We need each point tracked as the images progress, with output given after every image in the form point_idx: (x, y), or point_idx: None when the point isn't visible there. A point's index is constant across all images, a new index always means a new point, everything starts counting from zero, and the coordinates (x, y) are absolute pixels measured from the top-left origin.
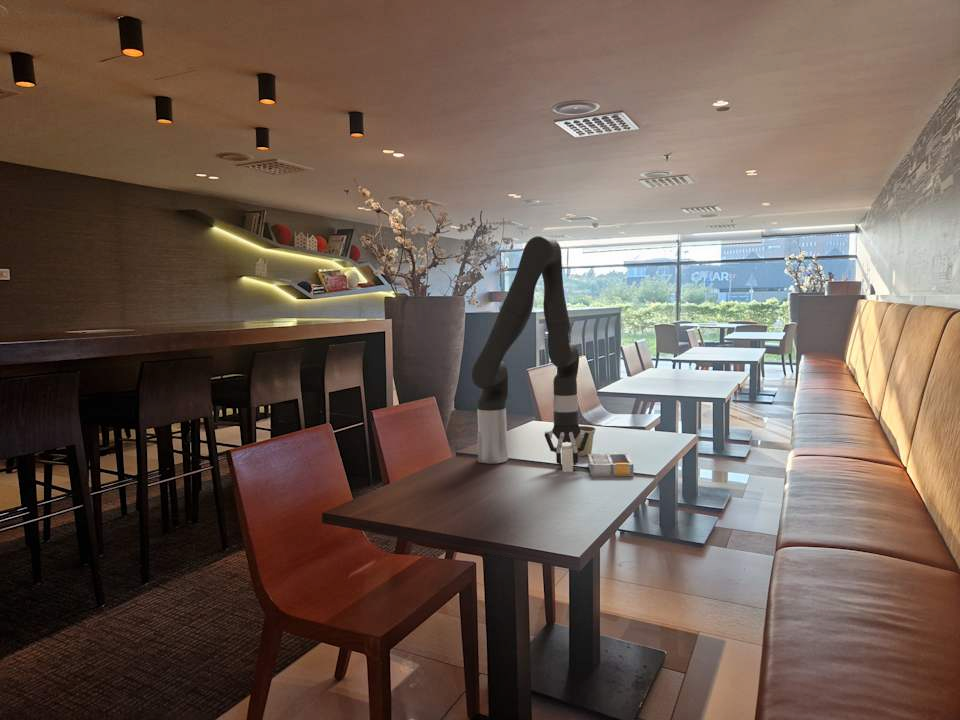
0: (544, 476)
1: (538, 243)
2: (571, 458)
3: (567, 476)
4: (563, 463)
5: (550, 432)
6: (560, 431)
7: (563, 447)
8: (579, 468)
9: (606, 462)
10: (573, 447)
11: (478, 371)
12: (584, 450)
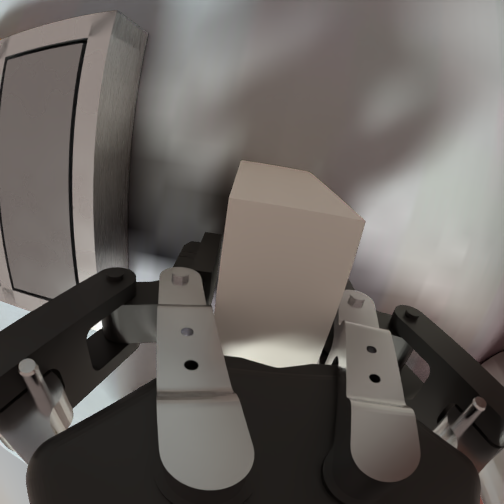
0: (432, 108)
1: None
2: (246, 177)
3: (301, 60)
4: (315, 182)
5: (478, 460)
6: (396, 495)
7: (322, 302)
8: (184, 234)
9: (12, 87)
10: (197, 303)
11: None
12: None
